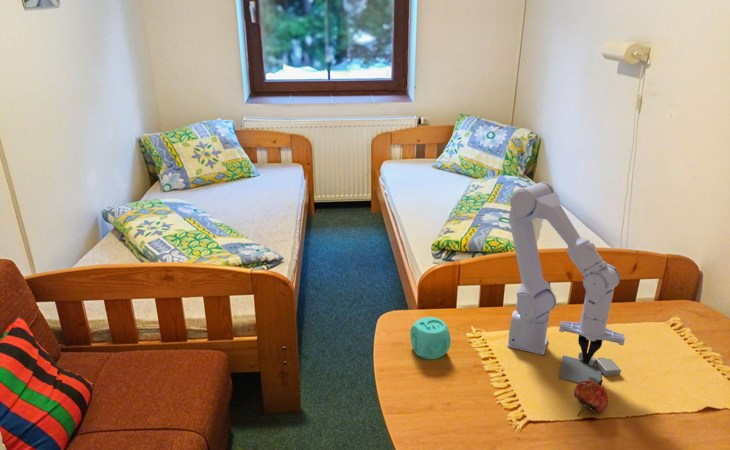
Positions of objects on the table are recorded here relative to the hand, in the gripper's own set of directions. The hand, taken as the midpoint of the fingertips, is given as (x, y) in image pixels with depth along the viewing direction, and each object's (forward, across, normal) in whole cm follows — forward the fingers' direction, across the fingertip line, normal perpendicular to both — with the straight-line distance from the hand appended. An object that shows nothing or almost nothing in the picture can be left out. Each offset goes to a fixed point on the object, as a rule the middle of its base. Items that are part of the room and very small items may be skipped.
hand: (585, 361), depth 137 cm
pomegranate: (+4, +2, -14) cm, 14 cm away
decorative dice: (+4, -38, -7) cm, 39 cm away
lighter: (+2, +5, 0) cm, 6 cm away
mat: (+3, -1, 0) cm, 3 cm away
